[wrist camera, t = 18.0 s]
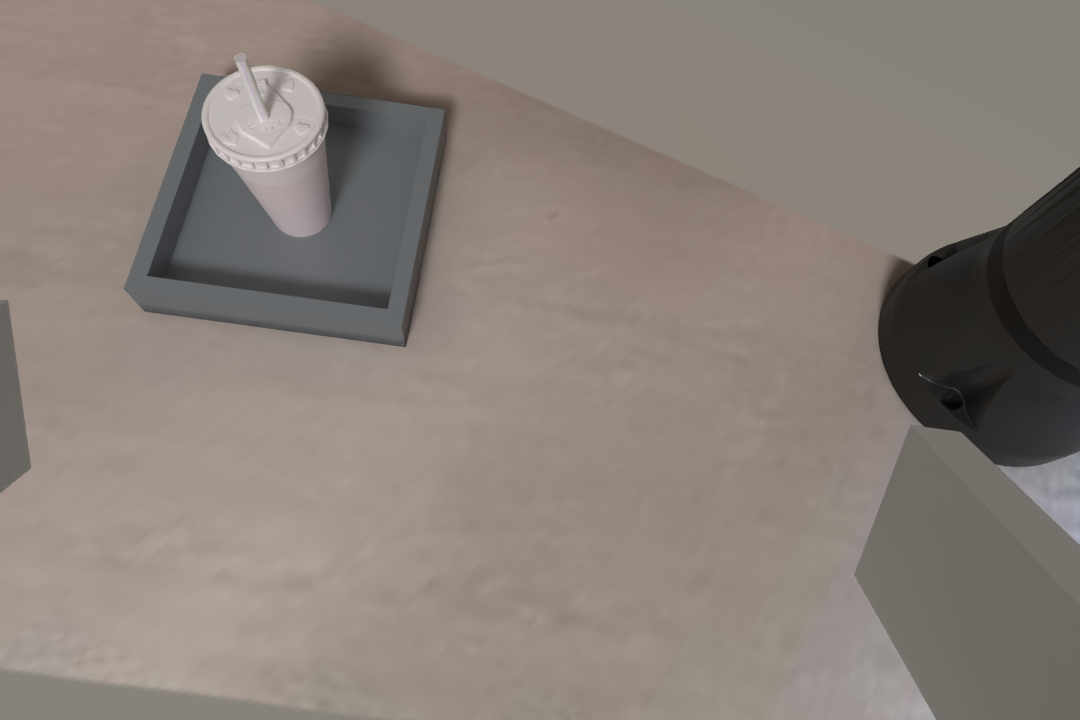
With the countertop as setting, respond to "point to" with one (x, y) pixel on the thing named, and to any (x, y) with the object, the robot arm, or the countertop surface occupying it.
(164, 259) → the tray
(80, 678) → the countertop surface
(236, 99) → the smoothie
